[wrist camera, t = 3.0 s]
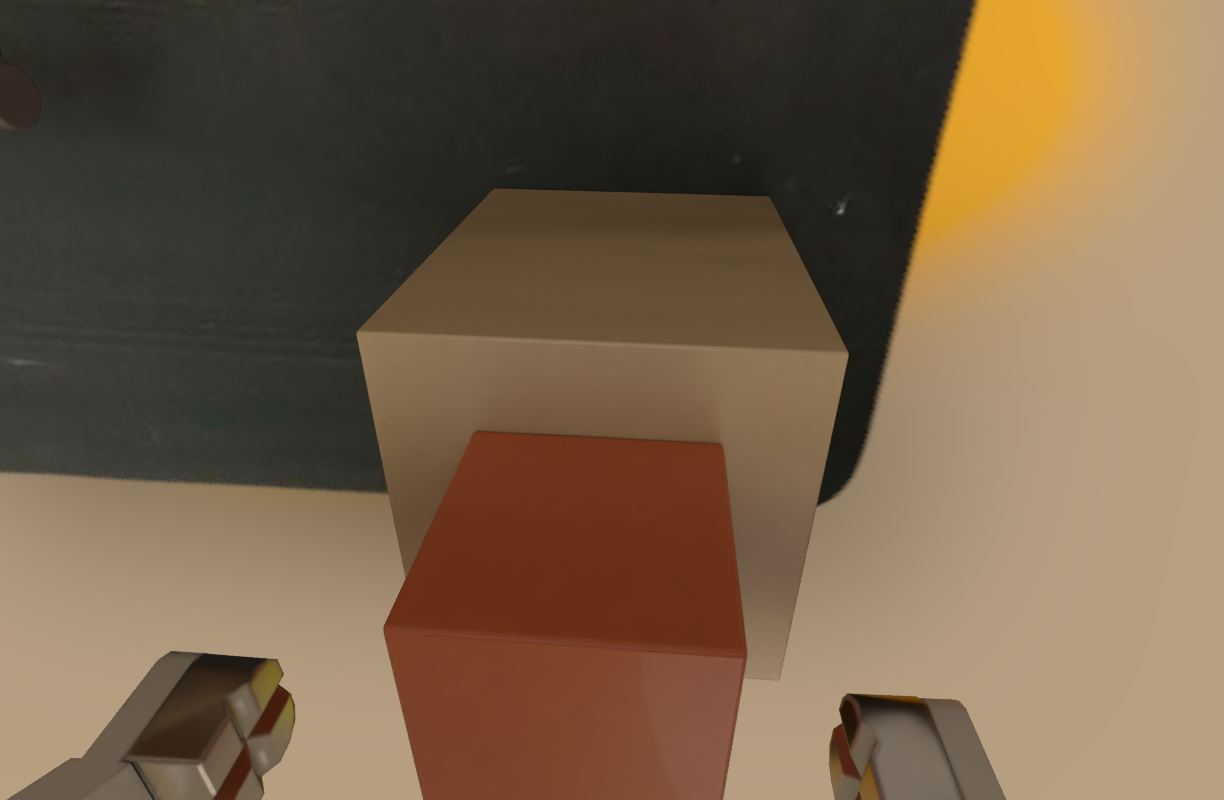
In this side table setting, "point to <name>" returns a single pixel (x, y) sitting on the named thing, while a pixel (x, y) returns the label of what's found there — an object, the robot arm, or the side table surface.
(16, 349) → the side table surface
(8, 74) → the drawer
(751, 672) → the stand
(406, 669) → the block
